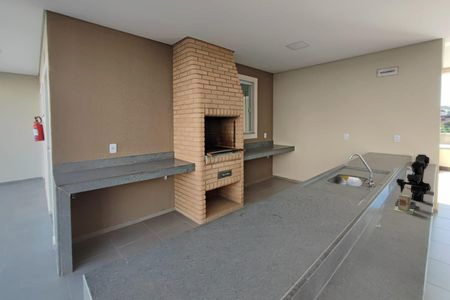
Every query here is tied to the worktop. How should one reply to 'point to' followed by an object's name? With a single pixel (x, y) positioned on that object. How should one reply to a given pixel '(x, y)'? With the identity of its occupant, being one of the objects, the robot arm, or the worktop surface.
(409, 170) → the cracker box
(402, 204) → the birch box
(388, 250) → the worktop surface
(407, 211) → the sage mat
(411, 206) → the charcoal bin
